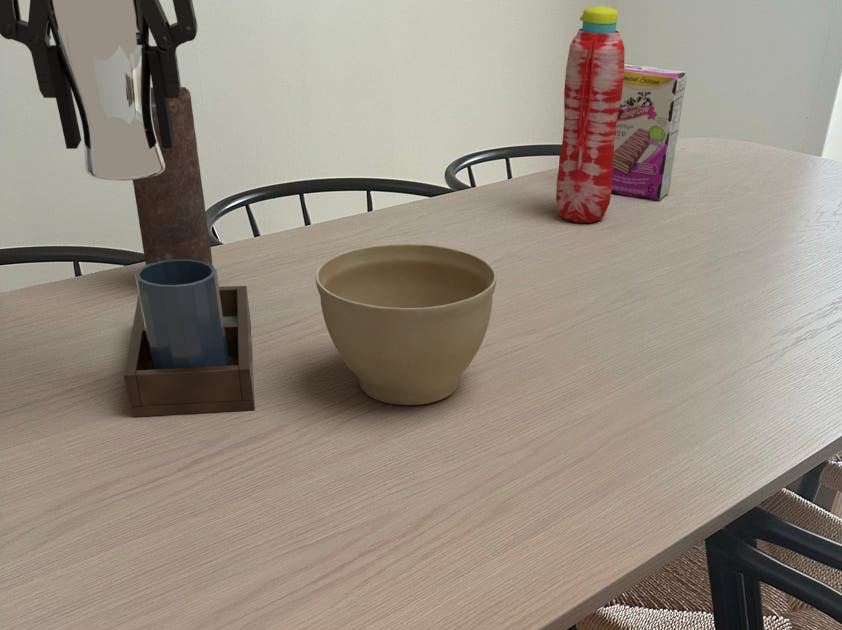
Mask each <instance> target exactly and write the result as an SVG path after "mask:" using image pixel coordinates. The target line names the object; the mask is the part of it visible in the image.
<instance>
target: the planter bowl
mask: <svg viewBox="0 0 842 630" xmlns="http://www.w3.org/2000/svg"><path fill="white" fill-rule="evenodd" d="M314 277H315V285H316V289H317V291H318V294H319V297H320V305H321V311H322V315H323V320H324V322H325V326H326V329H327V332H328V335H329V337H330V339H331V341H332V343H333V345H334V347H335V349H336V350H337V352H338V354H339V355H340V357H341V358H342V360H343V361H344V363H345V364H346V366H348V368H349V369H350V370H351V371H352V373H354V374H355V375H356V376H357V378H358V382H359V383H358V384H359V386H360V388H361V391H363V392H364V393H365V394H366V395H367V396H368V397H370V398H372V399H375V400H376V401H379V402H382V403H386V404H390V405H397V406H419V405H420V406H421V405H428V404H431V403H435V402H439V401H442V400H443V399H445V398H448V397H449V396H451V395H452V394H453V393H454V392H455V391H456V390H457V389H458V388H459V383H460V379H461V376H462V375H463V373H464V372H465V371H466V370H467V368H468V367H469V366H470V364H471V363H472V362H473V360H474V359H475V357H476V355H477V353H478V352H479V350H480V347H481V345H482V343H483V341H484V338H485V336H486V334H487V331H488V327H489V325H490V324H489V323H490V319H491V316H492V315H491V314H492V313H491V312H492V308H493V298H494V297H493V296H494V293H495V290H496V286H497V273H496V269H494V267H493V265H491V264H490V263H489V262H488V261H487V260H485V259H484V258H482V257H480V256H478V255H477V254H474V253H472V252H469V251H466V250H462V249H459V248H455V247H450V246H444V245H441V244H440V245H439V244H431V243H417V242H416V243H413V242H397V243H386V244H385V243H384V244H374V245H367V246H361V247H355V248H352V249H349V250H345V251H342V252H340V253H337V254H335V255H332V256H331V257H329V258H327V259H326V260H325V261H323V262H322V263H321V264H320V265H319V266H318V267H317V269H316V272H315V275H314Z"/></svg>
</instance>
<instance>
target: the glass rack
mask: <svg viewBox="0 0 842 630" xmlns="http://www.w3.org/2000/svg"><path fill="white" fill-rule="evenodd" d="M219 292H220V299H221V307H222V314H223V321H224V328H225V336H226V343H227V350H228V358H229V365H230V366H215V367H195V368H176V369H156V370H153V368H152V362H151V357H150V352H149V347H148V341H147V336H146V331H145V326H144V320H143V315H142V310H141V305H140V299H139V294H138V295H137V301H136V307H135V311H134V317H133V323H132V328H131V333H130V334H131V335H130V340H129V345H128V350H127V356H126V361H125V366H124V371H123V372H124V373H123V379H124V384H125V388H126V393H127V397H128V403H129V407H130V411H131V412H130V413H131V416H132V418H139V417H141V418H142V417H158V416H174V415H191V414H209V413H224V412H227V413H228V412H244V411H255V410H256V407H255V405H256V404H255V403H256V402H255V383H254V362H253V361H254V360H253V359H254V358H253V342H252V341H253V340H252V322H251V313H250V305H249V304H250V303H249V297H248V287H247V285H237V286H236V285H231V286H230V285H229V286H219Z"/></svg>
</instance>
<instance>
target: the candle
mask: <svg viewBox="0 0 842 630" xmlns="http://www.w3.org/2000/svg"><path fill="white" fill-rule="evenodd" d="M168 101H169V107H170V114H171V121H172V127H173V134H174V143H173V147H172V148H162V143H161V137H160V130H159V124H158V117H157V111H156V105H155V98H154V92H153V86H151V111H152V120H153V125H154V131H155V134H156V138H157V141H158V144H159V147H160V150H161V153H162V156H163V159H164V163H165V170H164V171H163V172H162V173H161V174H159V175H156V176H153V177H149V178H145V179H138V180H132V185H133V191H134V199H135V203H136V210H137V216H138V217H137V218H138V224H139V230H140V236H141V244H142V250H143V258H144V263H145V265H147V264H150V263H154V262H158V261H163V260H172V259H192V260H198V261H203V262H206V263H208V264H211V265H213V266H214V263H213V256H212V246H211V240H210V234H209V226H208V219H207V218H208V217H207V212H206V204H205V196H204V189H203V182H202V175H201V166H200V159H199V152H198V142H197V134H196V130H195V119H194V118H195V117H194V112H193V104H192V96H191V91H190V90H189V89H188V88H187V87H185V86H181V89H180V94H179V98H168Z"/></svg>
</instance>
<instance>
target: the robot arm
mask: <svg viewBox="0 0 842 630" xmlns="http://www.w3.org/2000/svg"><path fill="white" fill-rule="evenodd" d="M172 4H173V8H174V13H175V14H174V15H175V19H176V22H174V23H171V24H170V22H169V19H168V17H167V15H166V13H165V11H164V9H163V6H162V3H161V0H141V5H142V11H143V16H144V18H145V20H146V23H147V25H148V27H149V29H150V35H152V38H153V40H154V43H155V45H150V47H151V49H150V51H148V52H147V54H148V60H149V67H150V73H151V87H153V92H154V98H155V105H156V111H157V117H158V124H159V130H160V137H161V143H162V148H172V147H173V143H174V134H173V127H172V121H171V114H170V107H169V101H168V98H179V94H180V89H181V87H182V84H181V77H180V69H179V63H178V56H177V55H178V54H177V48H178V47H179V46H180V45H183V44H185V43H187V42H192V41H194V40H195V39H196V36H197V33H198V22H197V16H196V12H195V7H194V3H193V0H172ZM28 9H29V10H28V19H27V21H26V20H23V19H22V16H21V15H22V14H21V8H20V1H19V0H0V35H1V37H2V38H4V39H6V40H13V41H16V42H18V43H21V44H22V45H24V46H25V47H27V49H28V50H29V52H30V54H31V58H32V63H33V67H34V71H35V75H36V80H37V85H38V90H39V92H40V93H41V95H42V97H43V98H44V99H55V100H56V105H57V110H58V113H59V115H58V116H59V119H60V124H61V129H62V134H63V139H64V141H65V148H66V149H67V150H77V149H78V147H79V145H80V144H81V142H82V136H81V129H80V126H79V121H78V116H77V111H76V106H75V102H74V95H73V92H72V90H71V87H70V84H69V81H68V79H67V76H66V73H65V71H64V68H63V65H62V62H61V59H60V57H59V54H58V51H57V48H56V44H51V39H52V36H51V33H52V32H51V27H50V23H49V19H48V12H47V7H46V1H45V0H29V8H28Z"/></svg>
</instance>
